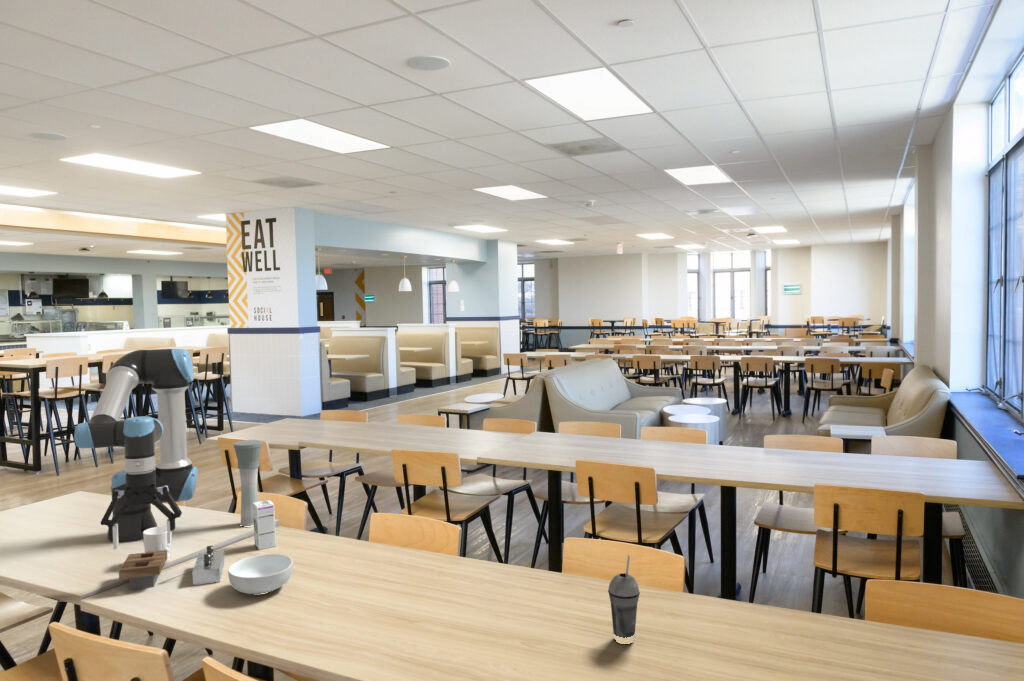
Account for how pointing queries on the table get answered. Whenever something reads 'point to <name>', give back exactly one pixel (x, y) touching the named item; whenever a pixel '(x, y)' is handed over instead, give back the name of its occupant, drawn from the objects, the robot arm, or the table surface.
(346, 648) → the table surface
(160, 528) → the white cup
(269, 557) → the cereal bowl
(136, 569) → the board
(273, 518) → the syrup box
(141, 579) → the riser
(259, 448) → the container
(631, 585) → the beverage cup
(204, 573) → the chassis
